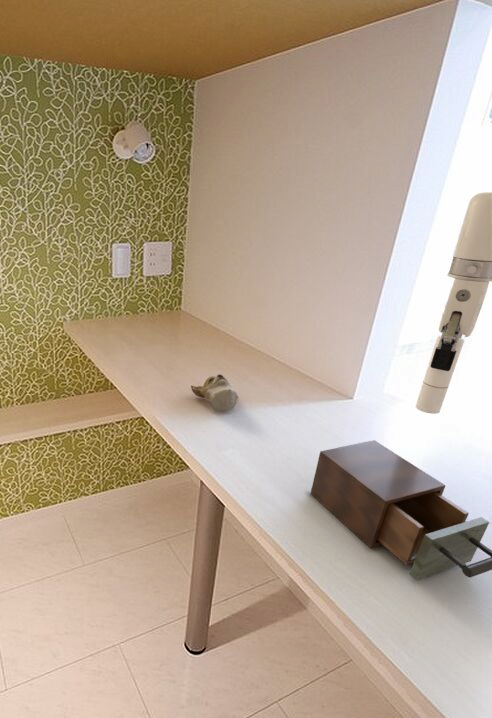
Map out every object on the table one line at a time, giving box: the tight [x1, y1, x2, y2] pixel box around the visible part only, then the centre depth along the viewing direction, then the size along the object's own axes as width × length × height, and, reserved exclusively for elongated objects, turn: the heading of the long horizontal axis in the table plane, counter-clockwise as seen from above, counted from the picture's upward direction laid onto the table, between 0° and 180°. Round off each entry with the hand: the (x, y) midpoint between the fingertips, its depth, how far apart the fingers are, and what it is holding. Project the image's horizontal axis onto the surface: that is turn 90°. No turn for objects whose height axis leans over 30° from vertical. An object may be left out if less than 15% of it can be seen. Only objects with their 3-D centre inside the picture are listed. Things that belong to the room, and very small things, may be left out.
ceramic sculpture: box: [190, 374, 239, 413], centre depth 115 cm, size 11×9×15 cm
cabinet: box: [310, 439, 446, 549], centre depth 76 cm, size 15×13×10 cm
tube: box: [415, 334, 465, 415], centre depth 85 cm, size 4×4×15 cm
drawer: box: [377, 492, 492, 581], centre depth 67 cm, size 18×11×8 cm, turn 20°
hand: (442, 364), depth 84 cm, fingers closed on tube, 4 cm apart
